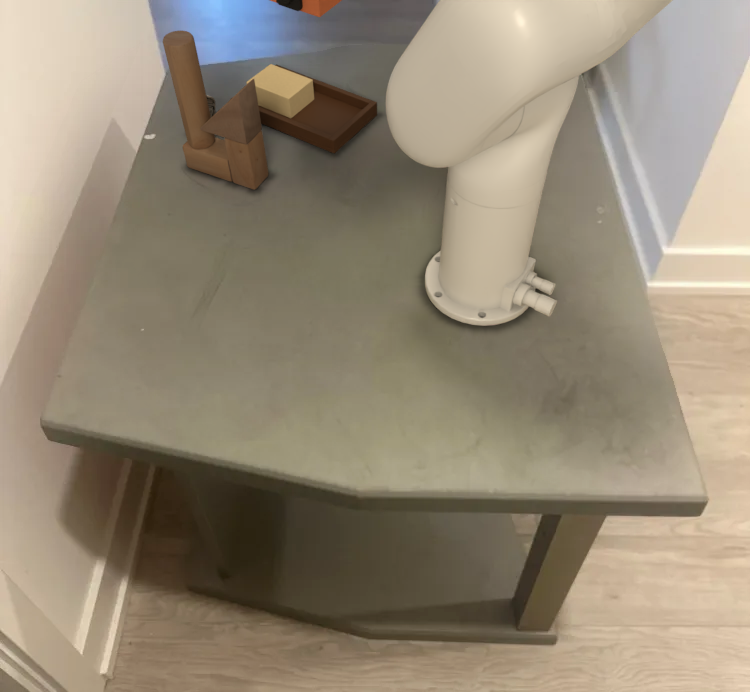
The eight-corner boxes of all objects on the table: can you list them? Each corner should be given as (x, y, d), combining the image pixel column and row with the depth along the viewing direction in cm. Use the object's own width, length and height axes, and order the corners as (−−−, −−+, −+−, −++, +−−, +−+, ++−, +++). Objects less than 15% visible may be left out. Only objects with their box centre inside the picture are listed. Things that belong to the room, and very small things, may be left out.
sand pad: (314, 99, 107) (312, 79, 105) (291, 118, 104) (288, 98, 102) (273, 83, 110) (270, 63, 107) (249, 101, 107) (245, 82, 104)
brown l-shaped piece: (255, 191, 95) (233, 63, 81) (186, 168, 98) (153, 41, 84) (270, 175, 97) (251, 47, 83) (202, 152, 100) (172, 26, 86)
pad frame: (377, 114, 106) (377, 102, 104) (334, 154, 100) (333, 141, 98) (277, 76, 112) (276, 64, 110) (232, 111, 106) (229, 98, 105)
